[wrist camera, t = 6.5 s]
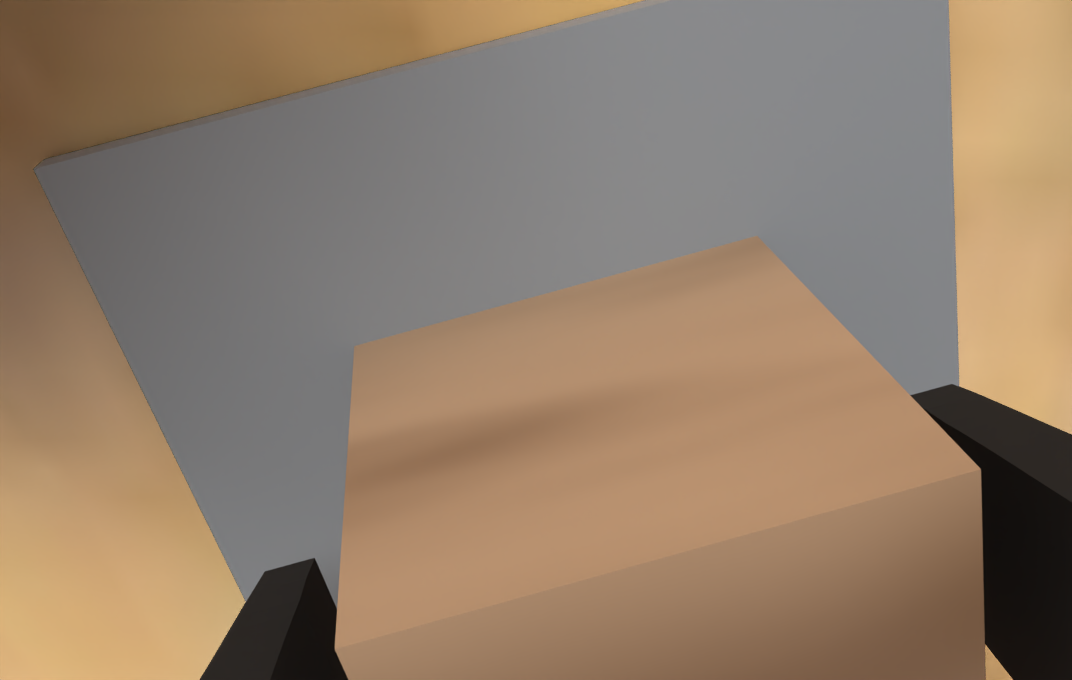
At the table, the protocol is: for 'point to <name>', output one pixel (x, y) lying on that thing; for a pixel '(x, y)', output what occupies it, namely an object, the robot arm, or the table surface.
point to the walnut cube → (654, 493)
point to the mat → (506, 219)
